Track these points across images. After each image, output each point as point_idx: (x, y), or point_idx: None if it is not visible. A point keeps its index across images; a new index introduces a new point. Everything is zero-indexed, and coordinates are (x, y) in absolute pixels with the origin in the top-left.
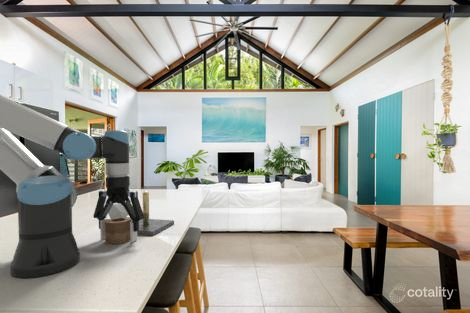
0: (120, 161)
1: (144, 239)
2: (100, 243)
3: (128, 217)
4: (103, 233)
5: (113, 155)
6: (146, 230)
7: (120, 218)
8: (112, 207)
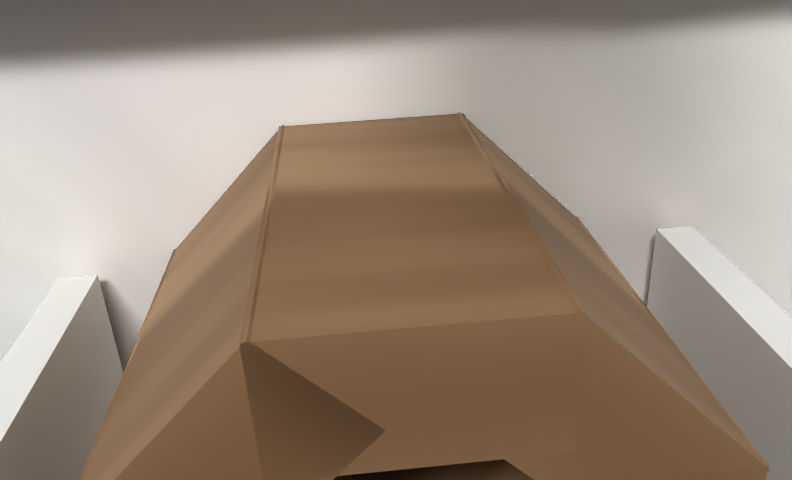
0: None
1: (789, 154)
2: None
3: (546, 343)
4: (93, 429)
5: None
6: None
7: (343, 468)
8: None
